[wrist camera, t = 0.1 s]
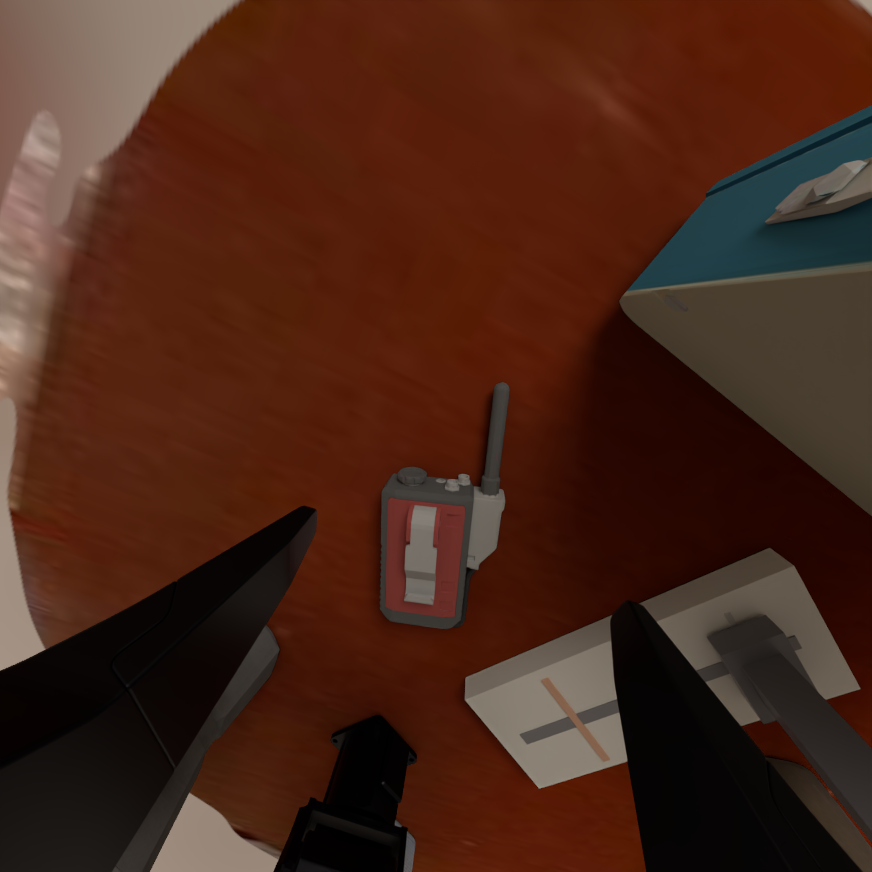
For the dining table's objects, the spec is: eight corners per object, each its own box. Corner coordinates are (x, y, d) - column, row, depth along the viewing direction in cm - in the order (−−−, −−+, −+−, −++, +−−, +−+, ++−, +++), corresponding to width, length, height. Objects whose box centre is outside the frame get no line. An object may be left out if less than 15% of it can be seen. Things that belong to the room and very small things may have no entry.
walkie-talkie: (486, 616, 30) (517, 381, 24) (487, 663, 25) (526, 391, 20) (384, 602, 30) (391, 371, 25) (370, 645, 26) (373, 379, 20)
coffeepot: (236, 702, 36) (14, 1046, 18) (162, 645, 34) (-149, 957, 17) (328, 626, 31) (151, 981, 14) (247, 558, 30) (-54, 856, 13)
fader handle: (747, 702, 26) (946, 973, 15) (706, 637, 25) (889, 879, 14) (805, 684, 25) (1063, 959, 14) (765, 614, 24) (1013, 856, 13)
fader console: (535, 762, 33) (539, 791, 31) (465, 677, 31) (464, 701, 29) (833, 663, 27) (863, 691, 25) (769, 547, 25) (796, 567, 23)
